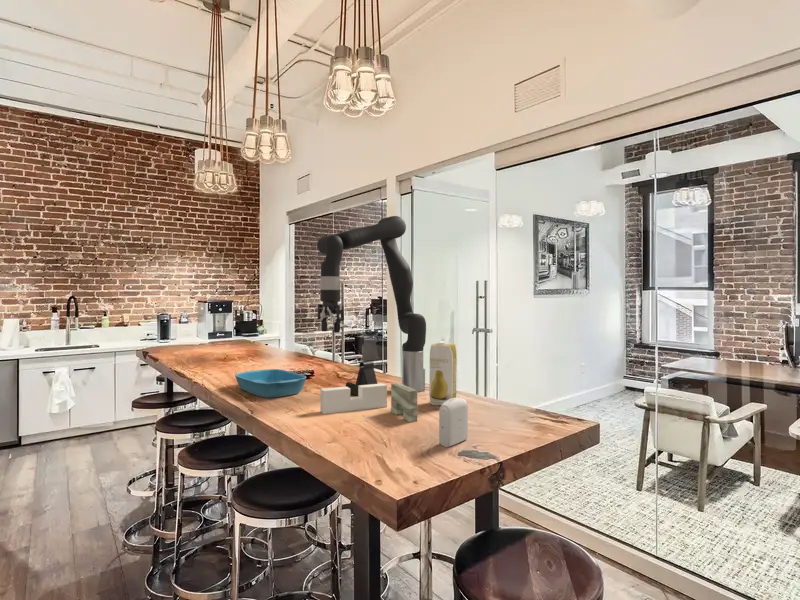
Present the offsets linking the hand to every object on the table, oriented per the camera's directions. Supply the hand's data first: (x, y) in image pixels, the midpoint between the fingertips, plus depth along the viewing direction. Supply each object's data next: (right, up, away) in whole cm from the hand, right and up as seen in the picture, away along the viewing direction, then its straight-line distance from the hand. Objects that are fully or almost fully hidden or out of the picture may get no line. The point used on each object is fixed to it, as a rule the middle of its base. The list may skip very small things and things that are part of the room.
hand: (330, 331), depth 173 cm
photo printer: (+41, -29, -43) cm, 66 cm away
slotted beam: (+10, -27, -7) cm, 30 cm away
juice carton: (+42, -28, +1) cm, 51 cm away
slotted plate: (+27, -28, -16) cm, 42 cm away
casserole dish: (-29, -27, +23) cm, 46 cm away
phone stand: (+11, -27, +28) cm, 41 cm away
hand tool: (+8, -28, +14) cm, 32 cm away
